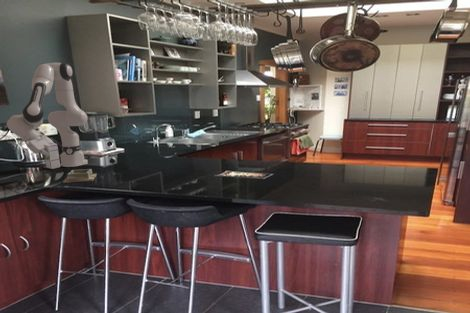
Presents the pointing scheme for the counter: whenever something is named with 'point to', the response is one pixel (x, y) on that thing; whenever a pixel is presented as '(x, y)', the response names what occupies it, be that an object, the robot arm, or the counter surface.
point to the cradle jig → (80, 176)
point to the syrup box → (52, 156)
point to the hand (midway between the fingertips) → (52, 154)
